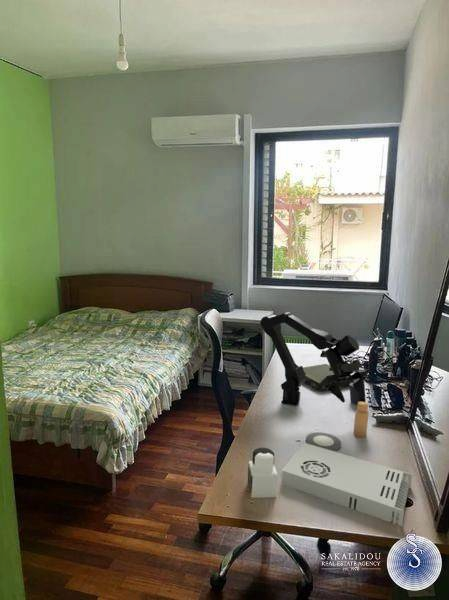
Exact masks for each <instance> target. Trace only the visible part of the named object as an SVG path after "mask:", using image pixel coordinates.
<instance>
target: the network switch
mask: <svg viewBox="0 0 449 600" xmlns="http://www.w3.org/2000/svg"><path fill="white" fill-rule="evenodd" d="M302 367H303V366H302ZM329 368H331V367H330V365H329V364H328V363H323V364H317V365H309V366H304V367H303V370H304V372H305V373H306V375H305V376H306V380H305V382H304V383H303V384H306V385H308V386H310V387H311V388H313V389H314V390H315V391H317V392H326V391H327V390H326V388H322V386H321V381H322V380H323V379H324V378H325V377H326V376H329V375H334V374H333V371H330V370H329ZM346 379H347V378H346ZM350 383H352V382H351V380H350V381H344V382H340V385H339V386H340V389H343V388H350V385H349V384H350Z"/></svg>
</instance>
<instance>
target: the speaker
mask: <svg viewBox="0 0 449 600" xmlns="http://www.w3.org/2000/svg"><path fill="white" fill-rule="evenodd" d="M352 384H354V383H353V382H352V383H350V384H349V385H350V387H349V398H350V399H349V400H350V403H351V404H352V405H357V406H358V402H360V401H362V402H366V403H367V401H366V400H367V399H366V387H365V383H364V384H363V387H364V397H365V398H364V399H362V398H361V397H360V395H359V394H358V392H357V391H356V389H355V388H354V386H353V385H352Z"/></svg>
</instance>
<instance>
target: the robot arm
mask: <svg viewBox="0 0 449 600" xmlns="http://www.w3.org/2000/svg"><path fill="white" fill-rule="evenodd" d="M259 324H260V327H261V329H262V330H263V331H264V333H265V334H266V335H267V336H269V338H270V339H271V341H272V344H273V346H274V348H275V351H276V352H277V354H278V357H279V358H280V360H281V363H282V365H283V368H284V378H285V381H284V382H282V383H281V384H280V387H281V390H283V391H282V400H281V404H285V405H290V406H295V407H296V406H297V405H298V404H299V403H300V402H301V391H300V388H301V387H302V385H303V384H305V383H304V382H305V380H306V376H305V375H306V373H305V372H304V370H303V366H302V365H300V366H299V365H297V364H296V362H295V360H294V358H293V355H292V353H291V351H290V349H289V348H288V344H287V343H286V340H285V339H284V336H283V334H282V325H281V324H286V325H287V326H289V327H291V328H292V329H293V330H295V331H296V332H298V333H300V334H301V335H303V336H304V337H306V338H307V339H308V340H309V341H310V343H311V345H313V346H314V347H315V348H316V349H318V350H320V351H321V353H320V356H319V357H320V358H326V360H327V363H328V365H330V367H331V368H329V370H330V371H333V374H334V375H329V376H326V377H325V378H324V379H323V380H322V381H321V386H322V388H326V391H329V392H330V393H331V394H332V395H334V396H335V397H336V398H337V399H338V400H339V401H341V402H342V403H345V402H346V400H345V397H344V395H343V392H342V390H341V389H342V388H340V386H339V385H340V382H344V381H350V380H351V382H353V383H354V384H352V385H353V386H354V388H355V389H356V391H357V392H358V394H359V395H360V397H361V398H362V399H364V398H365V399H366V396H365V397H364V387H363V384H365V380H367V378H368V377H369V374H368V373H367V371H366V370H364V369H362V370H360V369H361V368H362V362H361V361H360V359H353V360H352V362H348V361H347V360H344V358H343V357H346V358H347V357H349V356H350V355H352V354H354V353H355V352H357V351H359V349H360V345H359V343H358V341H357V340H356V339H355V338H353V337H352V336H351V335H350V334H347V335H345V336H344V337H343V338H341V339H339V338H337V337H334V336H333V335H332V334H331V333H330V332H326V331H324V330H321V329H318V328H317V329H316V328H314V327H313V326H312V325H310V324H308V323H306V322H304V321H303V320H301V319H300V318H298V317H297V316H295V315H293V313H292V312H290V311H287V312H283V313H281V314H278V315H276V314H270V315H267V316H266V315H265V316H264V317H261V320H260V322H259ZM346 378H347V379H346Z"/></svg>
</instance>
